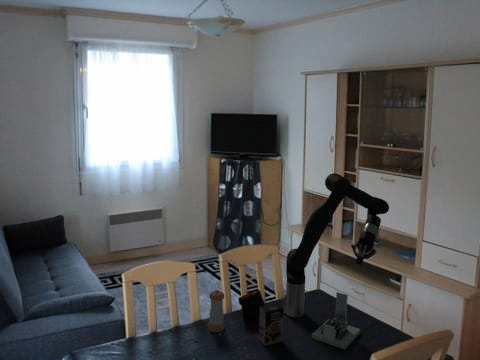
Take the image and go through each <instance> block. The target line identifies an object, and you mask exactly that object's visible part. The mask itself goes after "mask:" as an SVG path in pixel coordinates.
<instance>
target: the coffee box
mask: <svg viewBox="0 0 480 360" xmlns="http://www.w3.org/2000/svg"><path fill="white" fill-rule="evenodd" d="M284 314H285V313H284V306H282V305H280V304H278V302H275V303H271V304H264V306H260V317H259V320H258V322H259V323H258V340H259V341H260V343H262V344H263V346H265V347H266V346H269V345H273V344H277V343H282V342H283V330H284Z"/></svg>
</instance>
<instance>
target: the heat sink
mask: <svg viewBox="0 0 480 360" xmlns="http://www.w3.org/2000/svg"><path fill="white" fill-rule="evenodd" d="M327 320H328V319H327ZM327 320H326V321H327ZM331 320H332V319H330V318H329V320H328V321H327V322H326V321H325V322H326V323H325V322H324V323H325V324H326V325H329V326H332V327H335V330H336V337H335V338H336V339H339V340H342V339H343V338H344V337H345V336H346V335H347V334H348V332H349V330H347V328H348V323H347V324H346V325H345V326H344V327H343V324H344V323H341V324H340V325H339V322H337V323H336V324H335V321H333V320H332V321H333V322H332V323H331ZM322 325H323V324H322ZM322 325H321V326H322ZM323 330H324V325H323V326H322V330H321V334H323Z"/></svg>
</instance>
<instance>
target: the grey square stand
mask: <svg viewBox="0 0 480 360" xmlns="http://www.w3.org/2000/svg"><path fill="white" fill-rule="evenodd" d="M328 320H330V318H329V319H327V320H326V321H325V322H324V323H323V324H322V325H321V326H319V327H318V328H317V329H316V330H315V331H314V332H313V333H312V334H311V339H313V340H316V341H318V342H322V343H324V344H328V345H330V346H333V347H336V348H339V349H342V350H346V349H347V348H348V347H349V346H350V345H351V344H352V343H353V341H355V339H356V338H358V336H359V335H360V333H361V329H360V328H358V327H355V326H351V325H350V324H349V325H348V320H347V321H343V320H339V319H336V318H333V320H332V319H331V323H332V322H333V321H335V324H336V323H337V322H339V325H340V324H341V323H344V324H343V327H344V326H345V325H346V324H347V325H348V328H347V330H349V332H348V334H347V335H346V336H345V337H344V338H343V339H342V340H339V339H336V338H335V337H336V330H335V327H332V326H329V325H326V324H325V323H326V322H327V321H328ZM323 325H324V330H323V334H321V330H322V326H323Z"/></svg>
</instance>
